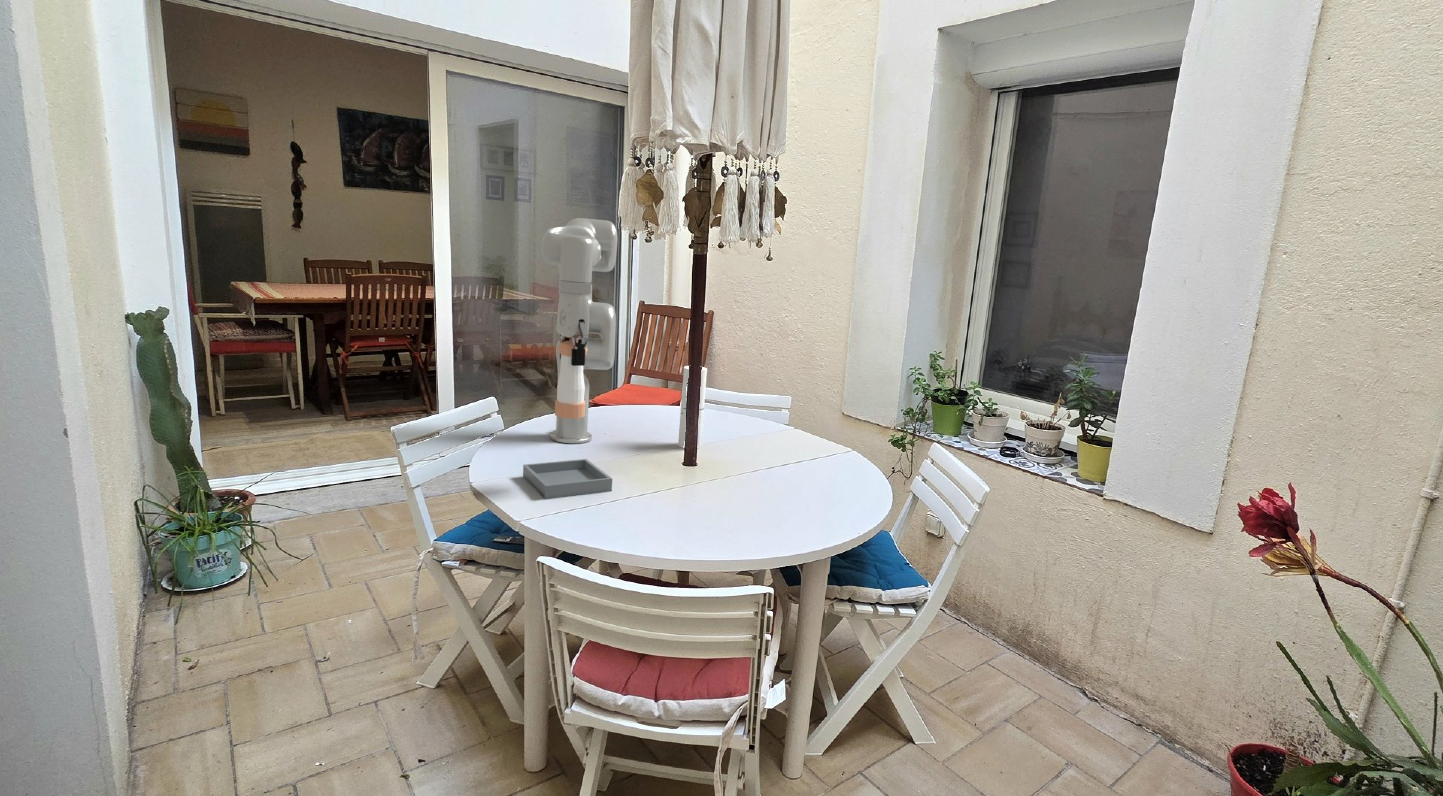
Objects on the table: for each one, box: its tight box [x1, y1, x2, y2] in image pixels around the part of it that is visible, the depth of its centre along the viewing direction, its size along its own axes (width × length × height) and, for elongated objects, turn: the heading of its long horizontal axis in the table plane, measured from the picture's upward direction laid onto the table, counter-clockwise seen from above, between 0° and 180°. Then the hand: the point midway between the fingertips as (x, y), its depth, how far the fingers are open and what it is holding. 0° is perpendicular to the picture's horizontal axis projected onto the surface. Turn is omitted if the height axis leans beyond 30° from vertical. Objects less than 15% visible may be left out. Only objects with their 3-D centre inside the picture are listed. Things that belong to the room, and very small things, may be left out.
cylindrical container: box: [677, 365, 708, 449], centre depth 217 cm, size 7×7×25 cm
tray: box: [522, 458, 613, 500], centre depth 176 cm, size 17×17×3 cm
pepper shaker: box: [554, 338, 588, 418], centre depth 171 cm, size 7×7×19 cm
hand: (572, 362), depth 170 cm, fingers closed on pepper shaker, 7 cm apart
